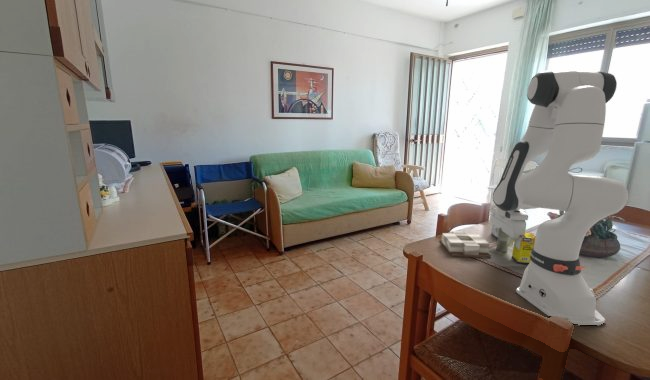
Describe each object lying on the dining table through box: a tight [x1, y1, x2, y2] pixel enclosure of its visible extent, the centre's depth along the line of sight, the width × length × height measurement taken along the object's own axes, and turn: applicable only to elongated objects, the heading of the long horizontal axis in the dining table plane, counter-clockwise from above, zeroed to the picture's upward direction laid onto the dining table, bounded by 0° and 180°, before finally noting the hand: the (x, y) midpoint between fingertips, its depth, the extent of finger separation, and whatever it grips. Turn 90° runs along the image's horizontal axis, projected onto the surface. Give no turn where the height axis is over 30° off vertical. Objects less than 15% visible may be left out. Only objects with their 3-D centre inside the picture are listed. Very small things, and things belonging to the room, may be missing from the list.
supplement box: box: [511, 232, 536, 265], centre depth 116 cm, size 6×6×11 cm
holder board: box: [439, 230, 492, 259], centre depth 127 cm, size 16×16×5 cm
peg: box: [496, 228, 510, 253], centre depth 126 cm, size 4×4×10 cm
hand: (503, 240), depth 126 cm, fingers open, 8 cm apart
